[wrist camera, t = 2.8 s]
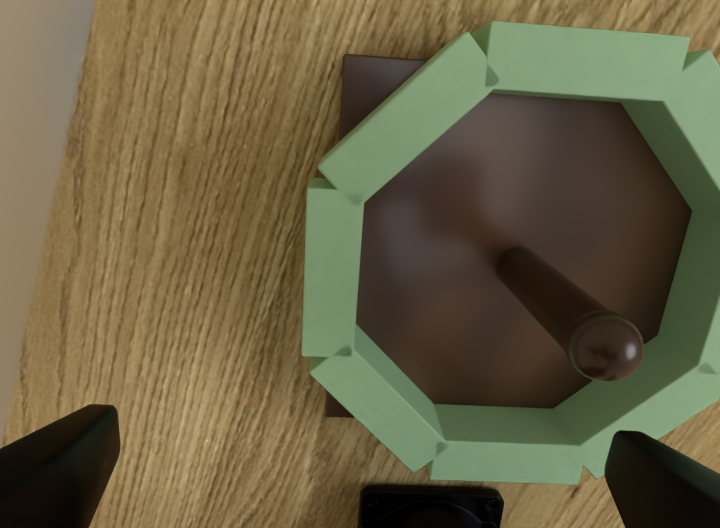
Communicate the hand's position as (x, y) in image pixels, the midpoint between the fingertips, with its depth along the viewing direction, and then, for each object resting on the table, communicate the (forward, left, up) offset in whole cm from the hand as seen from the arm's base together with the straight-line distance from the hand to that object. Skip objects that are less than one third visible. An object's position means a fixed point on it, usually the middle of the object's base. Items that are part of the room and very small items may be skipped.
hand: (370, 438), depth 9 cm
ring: (+6, 0, -10) cm, 12 cm away
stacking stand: (+6, 0, -11) cm, 12 cm away
